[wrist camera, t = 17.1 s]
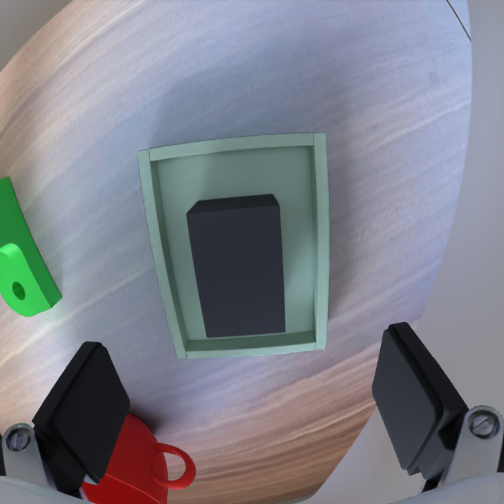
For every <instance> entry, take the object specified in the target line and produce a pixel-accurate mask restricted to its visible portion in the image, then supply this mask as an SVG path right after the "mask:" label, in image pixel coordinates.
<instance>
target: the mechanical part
mask: <svg viewBox="0 0 504 504" xmlns="http://www.w3.org/2000/svg"><path fill="white" fill-rule="evenodd" d="M0 293H1V295H2V297H3V298H4V300H5V301H6V303H7V304H8V305H9V306H10V307H11V308H12V309H13V310H14V311H15V312H17V313H18V314H20V315H22V316H26V317H30V316H33V315H36V314H38V313H41V312H43V311H45V310H48V309H50V308H52V307H53V306H54V305H55V304H56V303H57V302H58V301H59V300H60V299H61V298H62V296H61V295H60V293H59V291H58V289H57V287H56V285H55V284H54V282H53V280H52V278H51V276H50V274H49V272H48V270H47V268H46V266H45V264H44V262H43V260H42V258H41V256H40V254H39V252H38V250H37V247H36V245H35V243H34V241H33V239H32V236H31V234H30V232H29V229H28V227H27V225H26V222H25V220H24V217H23V215H22V212H21V210H20V207H19V204H18V202H17V199H16V196H15V193H14V190H13V188H12V185H11V182H10V178H9V177H7V178H3V179H0Z"/></svg>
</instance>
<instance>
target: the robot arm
mask: <svg viewBox="0 0 504 504" xmlns="http://www.w3.org/2000/svg"><path fill="white" fill-rule="evenodd" d="M372 394H373V397H374V399H375V402H376V404H377V407H378V409H379V411H380V414H381V416H382V419H383V421H384V424H385V426H386V429H387V432H388V434H389V437H390V439H391V442H392V444H393V447H394V450H395V452H396V455H397V458H398V460H399V463H400V466H401V468H402V469H403V470H406V469H407V471H408V474H409V476H411V475H413V474H416V473H419V472H421V473H422V476H423V478H424V481H423V483H422V485H421V487H420V490H419V492H418V494H417V495H415V496H413V497H409V498H406V499H403V500H400V501H397V502H393V503H390V504H504V420H503V418H502V416H501V414H500V413H499V412H498V411H497V410H495V409H494V408H492V407H489V406H483V405H480V406H475V407H474V408H472V409H470V410H469V409H468V407H467V405H466V404H465V402H464V401H463V399H462V398H461V396H460V395H459V393H458V392H457V390H456V389H455V387H454V386H453V384H452V383H451V381H450V380H449V378H448V377H447V375H446V374H445V373H444V371H443V370H442V368H441V367H440V365H439V364H438V363H437V361H436V360H435V359H434V357H432V355H431V354H430V353H429V351H428V350H427V348H426V347H425V346H424V344H423V343H422V342H421V340H420V339H419V338H418V336H417V335H416V334H415V332H414V331H413V330H412V328H411V327H410V326H409V324H408V323H407V322H401V323H396V324H391V325H389V327H388V329H386V330H385V331H384V333H383V338H382V343H381V348H380V353H379V358H378V363H377V368H376V372H375V376H374V381H373V385H372ZM129 407H130V400H129V398H128V395H127V393H126V391H125V389H124V387H123V385H122V383H121V381H120V378H119V376H118V374H117V372H116V369H115V367H114V365H113V363H112V360H111V358H110V355H109V353H108V351H107V349H106V347H104V346H103V345H102V344H101V343H100V342H89V341H86V342H84V343H83V344H82V346H81V347H80V348H79V350H78V351H77V353H76V354H75V356H74V357H73V358H72V360H71V361H70V363H69V364H68V366H67V367H66V369H65V370H64V371H63V373H62V374H61V376H60V377H59V379H58V380H57V382H56V383H55V385H54V386H53V388H52V390H51V391H50V393H49V394H48V396H47V397H46V399H45V400H44V402H43V404H42V405H41V407H40V408H39V410H38V412H37V413H36V415H35V416H34V418H33V420H32V422H33V423H34V425H35V426H34V428H32V427H31V426H30V425H28V424H26V423H18V424H15V425H13V426H11V427H10V428H9V429H7V431H6V432H5V433H4V435H3V438H2V446H1V447H0V504H95V503H91V502H89V500H88V498H87V496H86V494H85V491H84V489H83V487H82V484H83V481H85V482H88V483H91V484H95V485H98V484H99V481H100V479H102V478H103V477H104V476H105V473H106V470H107V467H108V464H109V462H110V459H111V456H112V453H113V450H114V448H115V445H116V442H117V439H118V437H119V434H120V431H121V429H122V426H123V423H124V421H125V418H126V416H127V413H128V410H129Z"/></svg>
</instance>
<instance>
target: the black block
mask: <svg viewBox="0 0 504 504" xmlns="http://www.w3.org/2000/svg"><path fill="white" fill-rule="evenodd" d="M186 217H187V225H188V232H189V238H190V245H191V252H192V258H193V264H194V271H195V277H196V283H197V288H198V294H199V300H200V305H201V311H202V316H203V321H204V327H205V332H206V337H207V338H214V337H232V336H247V335H260V334H272V333H283V332H286V327H285V299H284V276H283V255H282V236H281V219H280V205H279V203H278V202H277V200H276V198H275V196H274V195H273V194H264V195H251V196H240V197H229V198H218V199H209V200H199V201H197V202H196V203H195V204H194V205H193V206H192V208H191V209H190V210H189V211H188V212H187V213H186Z"/></svg>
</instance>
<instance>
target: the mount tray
mask: <svg viewBox="0 0 504 504" xmlns="http://www.w3.org/2000/svg"><path fill="white" fill-rule="evenodd" d="M137 153H138V162H139V170H140V178H141V186H142V193H143V200H144V207H145V213H146V219H147V225H148V231H149V237H150V242H151V248H152V253H153V258H154V263H155V268H156V273H157V278H158V282H159V287H160V291H161V296H162V300H163V304H164V308H165V313H166V317H167V321H168V325H169V329H170V333H171V336H172V340H173V344H174V347H175V351H176V355H177V358H178V359H187V358H188V359H203V358H228V357H245V356H259V355H271V354H282V353H292V352H301V351H310V350H319V349H326V340H327V322H328V299H329V245H330V241H329V187H328V164H327V146H326V133H291V134H271V135H256V136H244V137H233V138H223V139H214V140H205V141H197V142H190V143H183V144H176V145H169V146H163V147H157V148H151V149H146V150H140V151H138V152H137ZM264 194H273V195H274V196H275V198H276V200H277V202H278V203H279V205H280V219H281V236H282V255H283V276H284V299H285V327H286V332H283V333H272V334H260V335H247V336H232V337H214V338H207V337H206V332H205V327H204V321H203V316H202V311H201V305H200V300H199V294H198V288H197V283H196V277H195V271H194V264H193V258H192V252H191V245H190V238H189V232H188V225H187V217H186V213H187V212H188V211H189V210H190V209H191V208H192V206H193V205H194V204H195V203H196V202H197V201H199V200H209V199H218V198H229V197H240V196H251V195H264Z"/></svg>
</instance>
